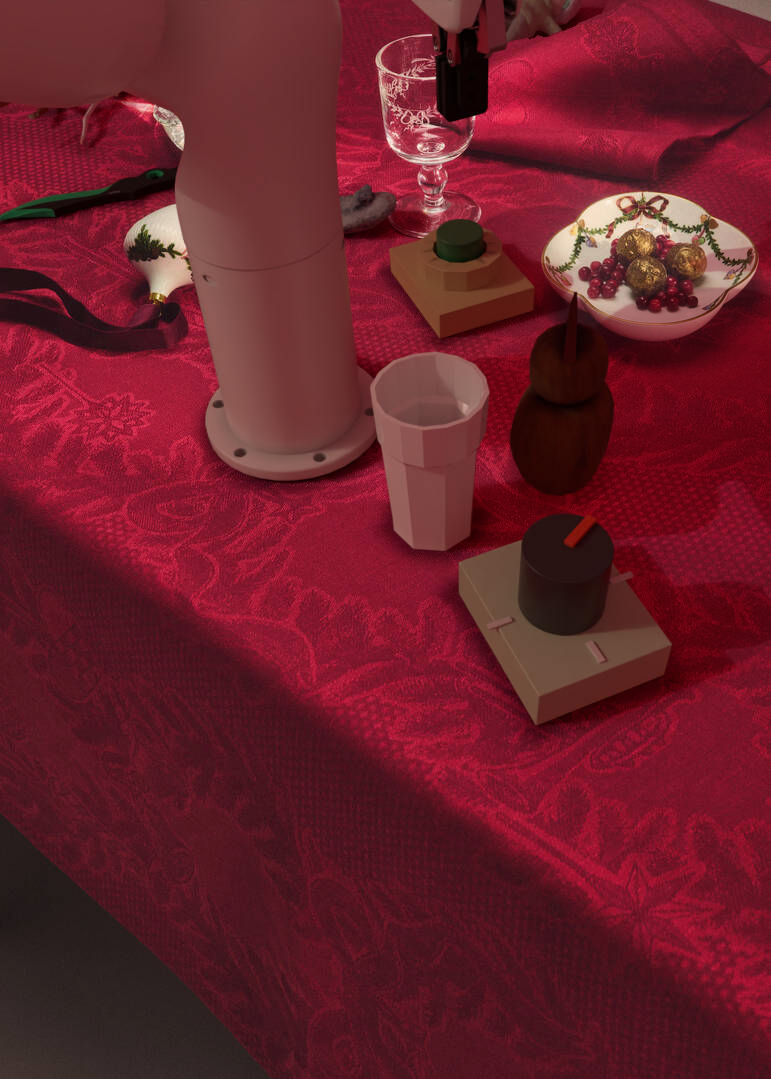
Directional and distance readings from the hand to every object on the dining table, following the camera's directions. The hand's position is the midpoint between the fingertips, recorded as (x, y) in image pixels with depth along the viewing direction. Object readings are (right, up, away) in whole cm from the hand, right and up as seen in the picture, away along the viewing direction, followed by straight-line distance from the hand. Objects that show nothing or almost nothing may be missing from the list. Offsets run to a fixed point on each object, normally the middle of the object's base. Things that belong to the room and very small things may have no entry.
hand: (462, 112), depth 69 cm
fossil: (-9, -3, +15) cm, 18 cm away
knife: (-32, +5, +26) cm, 41 cm away
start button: (0, -7, +8) cm, 11 cm away
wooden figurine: (+6, -26, -3) cm, 26 cm away
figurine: (-31, +23, +37) cm, 53 cm away
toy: (+5, +23, +37) cm, 44 cm away
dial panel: (+5, -35, -12) cm, 37 cm away
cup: (-2, -29, -5) cm, 29 cm away
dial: (+4, -33, -14) cm, 36 cm away
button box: (+1, -10, +11) cm, 15 cm away
